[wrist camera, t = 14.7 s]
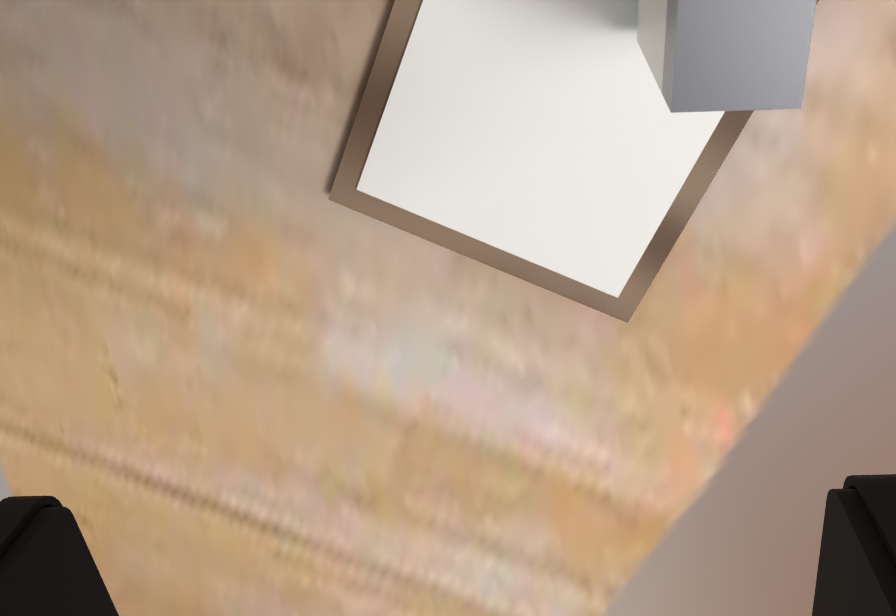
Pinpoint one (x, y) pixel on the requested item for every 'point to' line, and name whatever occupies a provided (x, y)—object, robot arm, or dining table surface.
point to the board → (348, 196)
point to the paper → (535, 133)
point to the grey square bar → (727, 52)
